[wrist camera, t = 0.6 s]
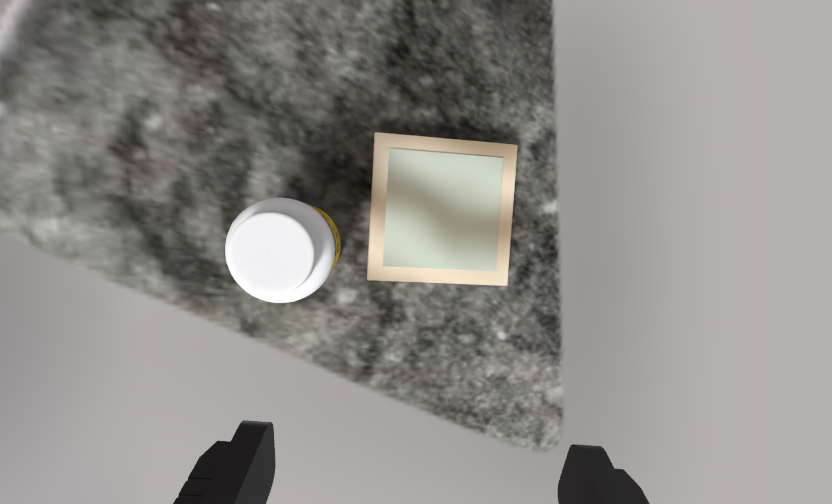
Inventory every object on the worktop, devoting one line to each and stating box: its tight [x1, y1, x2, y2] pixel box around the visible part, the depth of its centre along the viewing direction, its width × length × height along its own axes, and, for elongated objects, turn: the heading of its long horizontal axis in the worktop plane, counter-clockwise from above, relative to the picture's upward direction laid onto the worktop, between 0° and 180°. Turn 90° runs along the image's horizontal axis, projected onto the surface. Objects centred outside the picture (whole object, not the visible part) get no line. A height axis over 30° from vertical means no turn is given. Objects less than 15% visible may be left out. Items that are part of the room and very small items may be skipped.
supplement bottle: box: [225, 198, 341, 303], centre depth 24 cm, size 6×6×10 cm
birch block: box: [367, 132, 518, 286], centre depth 30 cm, size 10×10×2 cm
